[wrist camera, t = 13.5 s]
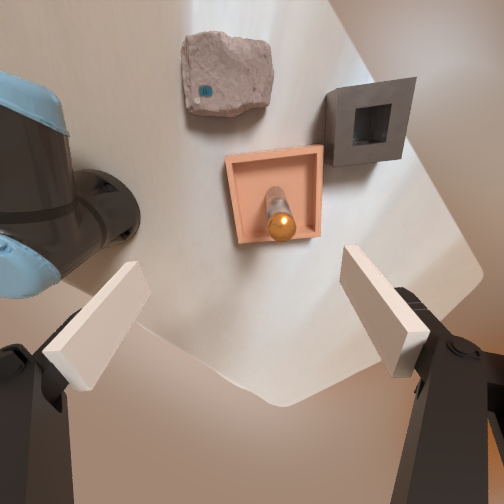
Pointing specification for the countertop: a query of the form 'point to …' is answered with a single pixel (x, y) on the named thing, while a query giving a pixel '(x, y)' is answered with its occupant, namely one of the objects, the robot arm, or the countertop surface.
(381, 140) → the block
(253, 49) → the decorative stone
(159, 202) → the countertop surface
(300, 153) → the tray
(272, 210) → the pin
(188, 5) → the countertop surface
